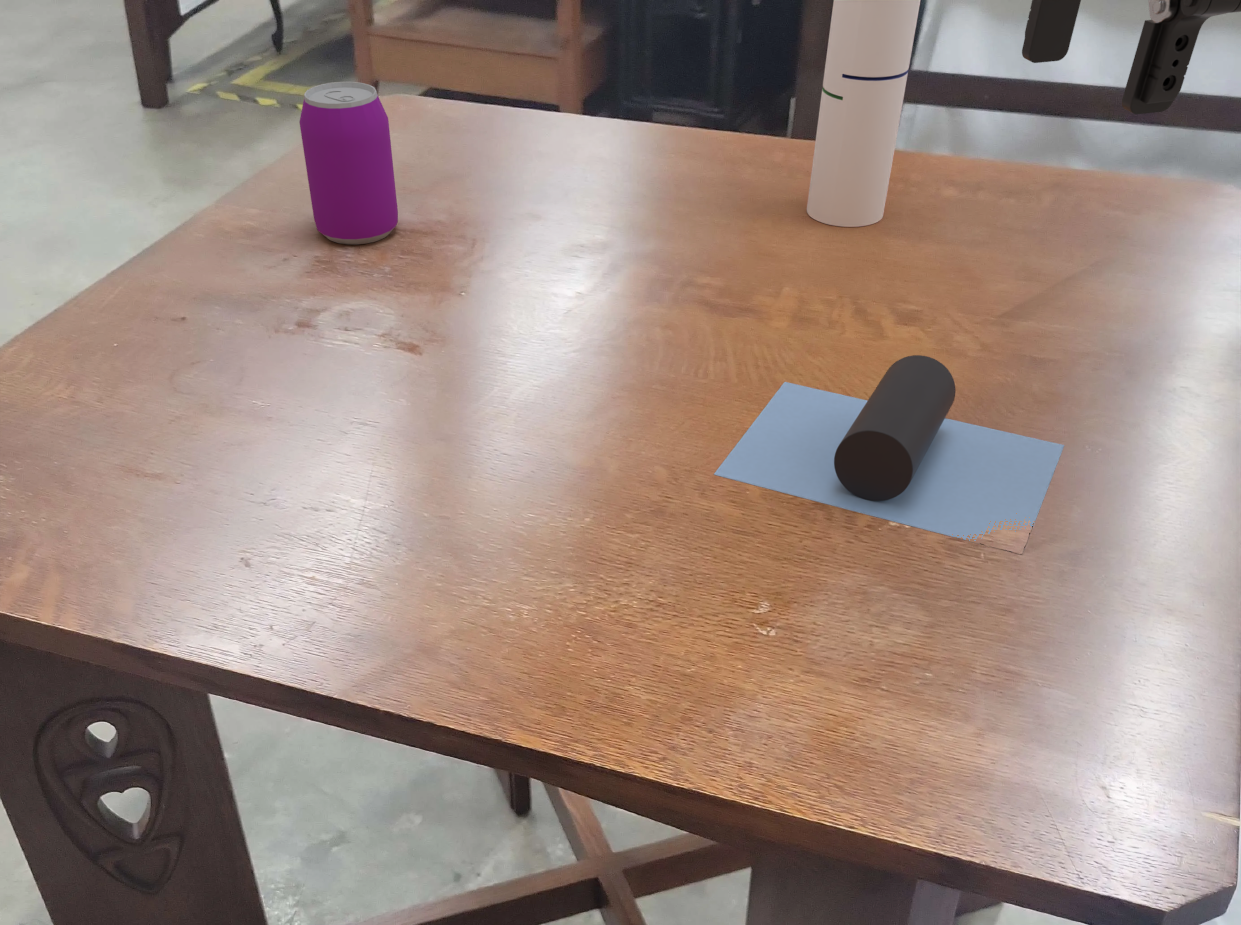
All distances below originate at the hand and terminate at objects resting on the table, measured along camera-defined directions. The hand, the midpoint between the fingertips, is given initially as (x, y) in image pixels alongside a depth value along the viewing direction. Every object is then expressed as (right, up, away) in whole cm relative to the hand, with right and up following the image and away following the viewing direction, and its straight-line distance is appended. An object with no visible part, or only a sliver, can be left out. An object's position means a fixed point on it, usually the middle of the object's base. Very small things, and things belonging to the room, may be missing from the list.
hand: (1090, 83), depth 57 cm
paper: (-3, -14, +23) cm, 27 cm away
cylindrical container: (+1, +15, +55) cm, 57 cm away
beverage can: (-44, +13, +53) cm, 70 cm away
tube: (-3, -14, +22) cm, 27 cm away
